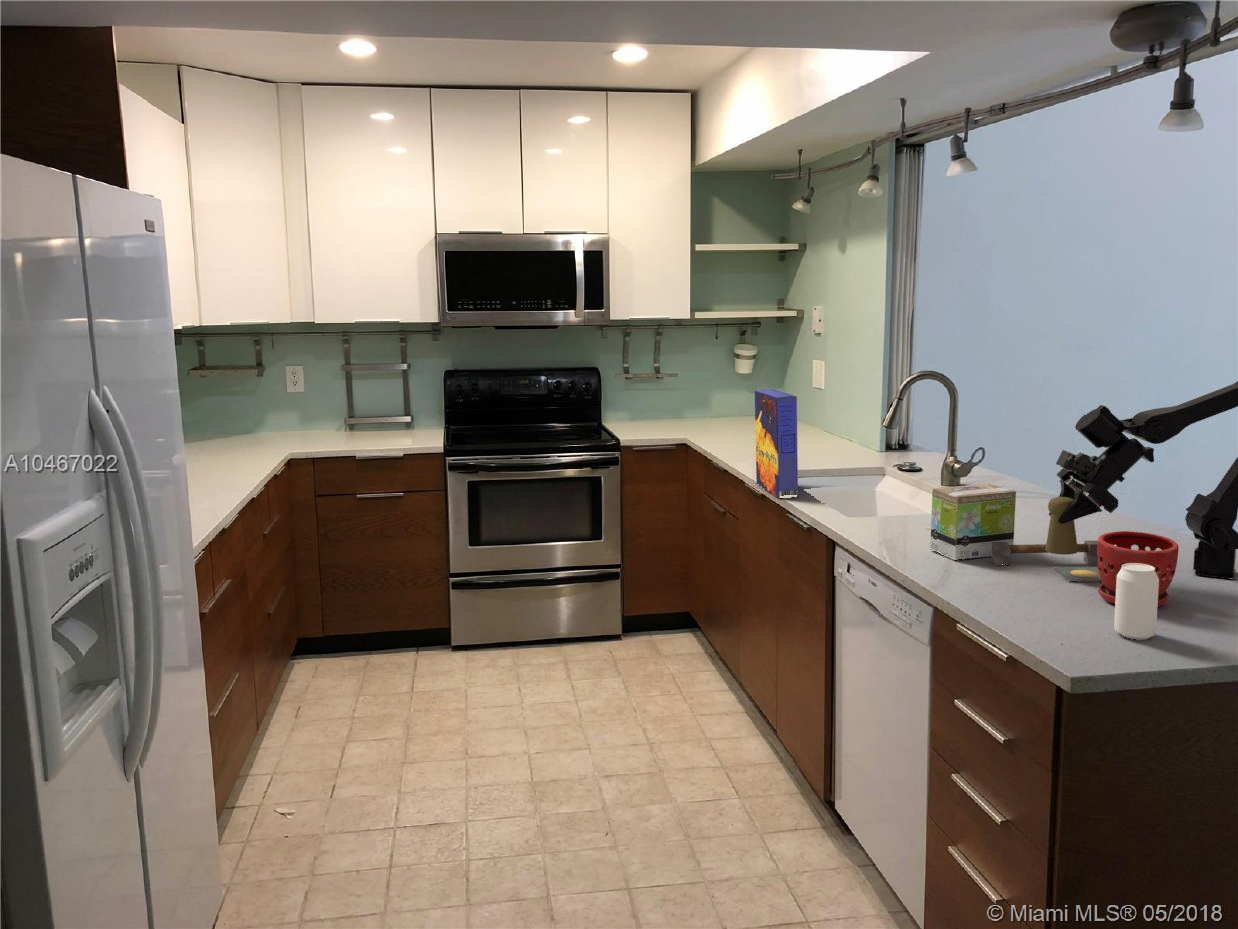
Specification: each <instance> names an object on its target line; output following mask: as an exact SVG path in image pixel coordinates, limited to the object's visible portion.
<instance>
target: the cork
mask: <svg viewBox="0 0 1238 929" xmlns="http://www.w3.org/2000/svg"><path fill="white" fill-rule="evenodd" d="M1072 501H1073V499H1072V498H1068V497H1059V496H1056V497H1052V498H1050V499H1049V501H1048V505H1047V509H1048V512H1049V513H1051V516H1049V517H1050V518H1049V523H1048V524H1049V526H1048V531H1047V537H1046V543H1045V544H1046V549H1045V550H1046V551H1047V552H1049V553H1048V554H1053V555H1062V556H1064V555H1065V556H1066V555H1067V556H1068V555H1075V554H1077V553H1079V552H1078V547H1077V544H1078V540H1077V534H1076V524H1075V520H1072V521H1070V522H1067V523H1064V524H1060V523H1059V522H1058V519H1059V518H1060V516H1061V515H1062V514H1063V512H1064V511H1065V510H1066V509H1067V508H1068V506H1069V505H1070V504H1071V503H1072Z"/></svg>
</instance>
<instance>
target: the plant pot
mask: <svg viewBox="0 0 1238 929" xmlns="http://www.w3.org/2000/svg"><path fill="white" fill-rule="evenodd" d="M1097 541H1098V545H1097V555H1098V564H1097V567H1098V571H1099V575H1100V578H1101V581H1102V582H1101V584H1099V586H1098V587H1097V592H1098V594H1099V595H1100V597H1102V598H1103V599H1104V600H1105V601H1107V602H1109V603H1111V604H1114V605H1115V600H1116V580H1117V574H1118V573H1119V571H1120V570H1121V568H1122V565H1123V564H1127V563H1141V564H1147V565H1150V566H1153V567H1154V568H1155V572H1156V574H1157V576H1158V578H1159V589H1158V606H1157V608H1158V607H1161V606H1163V605H1164V604H1166V603H1167V602H1168V601H1169V597H1170V595H1169V593H1168V592H1167V589H1169V587H1170V585H1171V584H1172V581H1173V579H1174V577H1175V573H1176V569H1177V566H1178V557H1179V544H1178V543H1177V541H1175V540H1173V539H1172V538H1171V539H1170V538H1169V537H1165V536H1162V535H1158V534H1154V533H1147V532H1143V531H1142V532H1139V531H1129V530H1123V531H1121V530H1120V531H1109V532H1107V533H1106V532H1105V533H1103V534H1101V535H1099V537H1098V538H1097ZM1133 546H1136V547H1137V548H1138V549H1132V547H1133ZM1146 548H1149V550H1146ZM1157 549H1160V550H1157ZM1102 559H1103V561H1102Z"/></svg>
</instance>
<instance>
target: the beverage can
mask: <svg viewBox="0 0 1238 929" xmlns="http://www.w3.org/2000/svg"><path fill="white" fill-rule="evenodd" d="M1158 589H1159V578H1158V576H1157V574H1156V572H1155V568H1154V567H1153V566H1150V565H1147V564H1141V563H1127V564H1123V565H1122V568H1121V570H1120V571H1119V573H1118V574H1117V580H1116V600H1115V604H1114V626H1113V628H1114V631H1115V632H1116V633H1118V634H1119V635H1120V634H1121V635H1122V636H1121V635H1120V636H1121V637H1123V636H1124V637H1123V638H1125V637H1127V638H1126V639H1128V638H1131V639H1130V640H1133V639H1136V640H1135V641H1144V640H1148V639H1149V638H1152V637H1154V636H1156V632H1157V620H1158V607H1157V606H1158Z"/></svg>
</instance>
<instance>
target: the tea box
mask: <svg viewBox="0 0 1238 929" xmlns="http://www.w3.org/2000/svg"><path fill="white" fill-rule="evenodd" d="M1016 500H1017V492H1016V491H1015V490H1014V489H1013V490H1012V489H1009V488H1006V487H1002V486H999V485H995V484H992V483H980V484H969V485H968V484H967V485H958V486H957V485H956V486H946V487H937V488H936V487H935V488H932V498H931V515H930V516H931V518H930V544H929V545H930V547H929V548H932V549H934V550H936V551H939V552H941V553H942V554H944V555H948V556H949V557H951V558H954V559H962V560H965V559H964V558H969V559H977V558H986V557H992V542H1007V543H1008V544H1009V545H1014V543H1015V541H1014V539H1015V522H1016V521H1015V518H1016V504H1017V503H1016ZM1012 554H1013V553H1010V555H1012Z"/></svg>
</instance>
